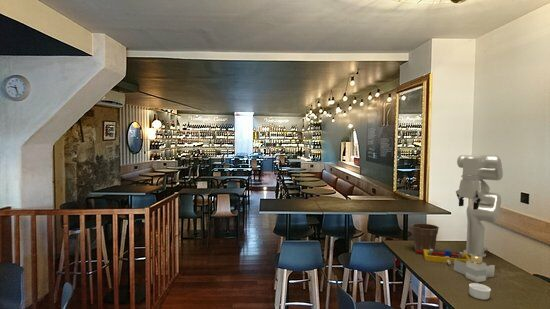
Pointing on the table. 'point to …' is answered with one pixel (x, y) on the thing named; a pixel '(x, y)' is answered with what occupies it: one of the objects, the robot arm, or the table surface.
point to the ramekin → (479, 291)
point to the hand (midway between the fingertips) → (468, 207)
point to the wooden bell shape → (476, 259)
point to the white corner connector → (474, 270)
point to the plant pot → (424, 236)
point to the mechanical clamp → (446, 255)
